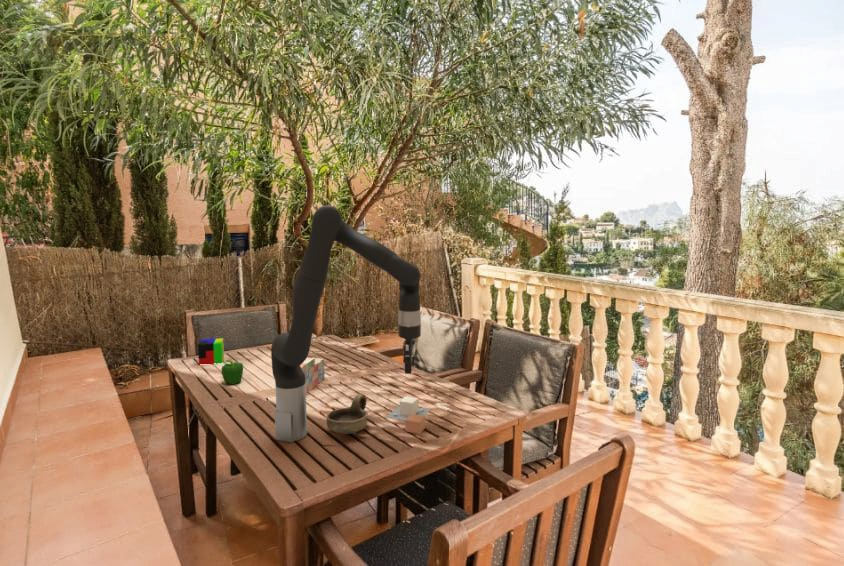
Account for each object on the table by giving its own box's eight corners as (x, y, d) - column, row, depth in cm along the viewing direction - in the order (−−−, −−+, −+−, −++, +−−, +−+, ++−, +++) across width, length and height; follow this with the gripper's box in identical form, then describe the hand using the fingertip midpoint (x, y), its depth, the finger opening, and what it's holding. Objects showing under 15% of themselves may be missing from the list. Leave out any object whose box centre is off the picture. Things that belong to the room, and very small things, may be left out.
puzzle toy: (202, 359, 230) (201, 339, 228) (224, 357, 233) (223, 338, 231) (199, 365, 220) (197, 344, 219) (222, 363, 223) (220, 343, 222)
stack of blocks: (311, 378, 205) (310, 350, 203) (324, 379, 203) (324, 351, 202) (287, 396, 184) (286, 365, 182) (302, 397, 182) (301, 367, 181)
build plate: (418, 425, 158) (418, 421, 158) (386, 419, 162) (386, 415, 162) (430, 412, 169) (430, 407, 169) (400, 407, 174) (400, 402, 173)
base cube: (412, 417, 163) (412, 403, 162) (399, 414, 164) (399, 401, 164) (418, 411, 167) (418, 398, 166) (405, 409, 169) (405, 396, 168)
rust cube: (419, 437, 150) (420, 422, 149) (405, 434, 152) (405, 419, 151) (425, 430, 155) (425, 416, 154) (411, 428, 156) (411, 414, 156)
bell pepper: (248, 380, 200) (247, 358, 198) (233, 387, 192) (232, 363, 191) (233, 378, 203) (232, 355, 202) (218, 383, 196) (217, 360, 195)
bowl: (316, 435, 151) (316, 406, 149) (348, 415, 166) (348, 388, 165) (351, 445, 144) (351, 414, 143) (381, 423, 160) (381, 395, 158)
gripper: (401, 317, 164) (401, 362, 167) (395, 327, 150) (395, 375, 153) (422, 318, 164) (422, 362, 166) (418, 328, 150) (418, 376, 152)
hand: (409, 368), depth 159 cm, fingers open, 8 cm apart
